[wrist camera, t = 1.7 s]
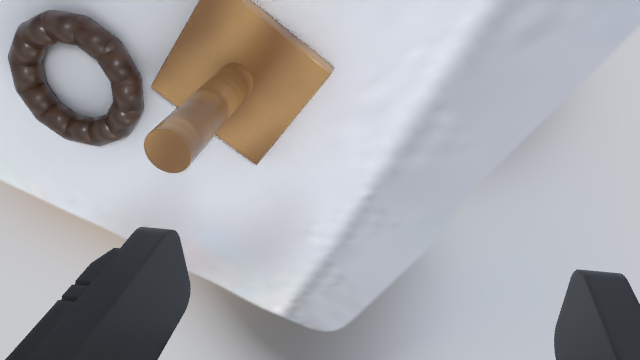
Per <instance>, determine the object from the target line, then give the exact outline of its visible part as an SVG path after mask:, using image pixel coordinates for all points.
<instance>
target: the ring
mask: <svg viewBox="0 0 640 360" xmlns="http://www.w3.org/2000/svg"><path fill="white" fill-rule="evenodd" d="M58 42H60V43H65V44H71V45H76V46H78V47H79V48H81V49H82V50H83V51H85V52H86V53H88V54H89V55H90V56H92V57H93V58H94V59H96V60H97V61H98V63H99V64H100V66H101V68H102V69H103V71H104V72H105V74H106V76H107V77H108V79H109V80H110V82H111V89H112V97H113V103H112V105H111V107H110V109H109V111H108V113H107V114H106V115H103V116H101V117H98V118H96V119H95V118H90V117H85V116H80V115H77V114H76V113H74V112H73V111H72V110H70V109H69V108H67V107H66V106H64V105H63V104H62V103H60V102H59V100H58V99H57V98H56V96H55V95H54V93H53V92H52V90H51V89H50V87H49V86H48V84H47V83H46V80H45V75H44V70H43V65H42V60H43V58H44V55H45V53H46V50H47V48H48V47H50V46H52V45H54V44H56V43H58ZM8 60H9V64H10V68H11V73H12V77H13V81H14V85H15V89H16V91H17V93H18V94H19V96H20V97H21V98H22V100H23V101H24V102H25V104H26V105H27V107H28V108H29V109H30V111H31V112H32V114H33V115H34V116H35V118H36V119H37V120H38V121H40V122H41V123H43V124H44V125H45V126H47V127H48V128H50V129H51V130H53V131H54V132H56V133H57V134H59V135H60V136H61V137H63V138H65V139H67V140H70V141H75V142H80V143H84V144H89V145H94V146H102V145H105V144H108V143H110V142H113V141H116V140H119V139H121V138H124V137H126V136H128V135H129V134H130V132H131V131H132V129H133V127H134V126H135V124H136V122H137V120H138V119H139V117H140V115H141V113H142V111H143V108H144V104H143V92H142V80H141V75H140V72H139V71H138V69H137V67H136V66H135V64H134V62H133V60H132V59H131V57H130V55H129V54H128V52H127V50H126V49H125V47H124V45H123V44H122V42H121V41H120V40H119V39H118V38H116V37H115V36H113V35H112V34H111V33H109V32H108V31H107V30H105V29H104V28H103V27H101V26H100V25H99V24H97V23H96V22H95V21H93V20H92V19H91V18H89V17H87V16H83V15H77V14H72V13H66V12H61V11H55V10H48V11H45V12H43V13H41V14H39V15H37V16H35V17H33V18H31V19H30V20H28V21H26V22H24V23H22V24H21V25H20V26H19V27H18V28H17V30H16V33H15V36H14V39H13V42H12V45H11V48H10V51H9V54H8Z"/></svg>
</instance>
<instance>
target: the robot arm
mask: <svg viewBox="0 0 640 360" xmlns="http://www.w3.org/2000/svg"><path fill="white" fill-rule="evenodd" d="M189 297H190V280H189V276H188V271H187V267H186V263H185V258H184V254H183V250H182V246H181V241H180V237H179V235H178V233H177V232H176V231H175V230H168V229H158V228H147V227H140V228H138V229H136V230H135V231H134V233H133V234H132V235H131V236H130V237H129V238H128V240H127V241H126V242H125V243H124V244H123V246H122V247H121V248H113V249H112V250H110V251H109V252H107V253H106V254H104V255H103V256H101V257H100V258H98V259H97V260H95V261H94V262H92V263H91V264H90V265H89V266H88V267H87V269H86V270H85V271H84V272H83V273H82V274H81V275H80V276H79V278H78V279H77V280H76V283H75V285H71V287H70V288H69V289H68V290H67V291H66V292H65V293H64V294H63V296H62V299H61V300H58V301H57V302H56V303H55V305H54V306H53V307H52V308H51V309H50V310H49V311H48V312H47V314H46V315H45V316H44V317H43V318H42V319H41V320H40V321H39V322H38V324H37V325H36V326H35V327H34V328H33V329H32V330H31V331H30V333H29V334H28V335H27V336H26V337H25V338H24V339H23V340H22V342H21V343H20V344H19V345H18V346H17V347H16V348H15V350H14V351H13V352H12V353H11V354H10V355H9V356H8V357H7V358H6V359H5V360H157V359H158V358H159V356H160V354H161V352H162V351H163V349H164V347H165V345H166V344H167V342H168V340H169V338H170V337H171V335H172V333H173V331H174V330H175V328H176V326H177V324H178V323H179V321H180V319H181V317H182V316H183V314H184V312H185V310H186V308H187V305H188V302H189ZM554 348H555V356H556V360H640V304H639V302H638V300H637V298H636V296H635V295H634V292H633V290H632V288H631V286H630V284H629V282H628V280H627V279H626V277H625V276H623V275H622V274H620V273H609V272H599V271H588V270H576V271H574V273H573V274H572V277H571V279H570V282H569V286H568V289H567V292H566V296H565V298H564V302H563V305H562V308H561V311H560V315H559V318H558V321H557V324H556V328H555V337H554Z"/></svg>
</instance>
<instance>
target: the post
mask: <svg viewBox="0 0 640 360" xmlns="http://www.w3.org/2000/svg"><path fill="white" fill-rule="evenodd" d="M333 69H334V67H333V66H331V65H330V64H329V63H328V62H326V61H325V60H324V59H323V58H322V57H320V56H319V55H318V54H317V53H315V52H314V51H313V50H312V49H310V48H309V47H308V46H307V45H306V44H304V43H303V42H302V41H301V40H299V39H298V38H297V37H296V36H294V35H293V34H292V33H291V32H289V31H288V30H287V29H286V28H285V27H283V26H282V25H281V24H280V23H278V22H277V21H276V20H275V19H273V18H272V17H271V16H270V15H269V14H267V13H266V12H265V11H264V10H262V9H261V8H260V7H259V6H257V5H256V4H255V3H254V2H253V1H251V0H199V2H198V4H197V6H196V7H195V9H194V11H193V13H192V15H191V16H190V18H189V20H188V22H187V23H186V25H185V27H184V29H183V30H182V32H181V34H180V36H179V38H178V39H177V41H176V43H175V45H174V46H173V48H172V50H171V52H170V53H169V55H168V57H167V59H166V61H165V62H164V64H163V66H162V68H161V69H160V71H159V73H158V75H157V76H156V78H155V80H154V82H153V84H152V85H151V88H152V89H154V90H155V91H156V92H158V93H159V94H160V95H162V96H163V97H164V98H166V99H167V100H169V101H170V102H171V103H173V104H174V105H175V106H177V107H178V108H177V109H176V110H174V111H173V112H172V113H171V114H170V115H169V116H168V117H167V118H165V119H164V120H163V121H162V122H161V123H160V124H159V125H158V126H156V127H155V128H154V129H153V130H152V131H151V132H150V133H149V134H148V135H147V136H146V138H145V141H144V149H145V153H146V155H147V157H148V159H149V160H150V161H151V162H152V163H153V164H154V165H155V166H156V167H157V168H159V169H161V170H163V171H165V172H169V173H178V172H182V171H184V170H185V169H186V168H187V167H188V166H189V165H190V164H191V163H192V161H193V160H194V159H195V158H196V157H197V156H198V154H199V153H200V152H201V151H202V150H203V149H204V147H205V146H206V145H207V144H208V143H209V141H210V140H211V139H212V138H213V137H214V136H215V135H216V136H218V137H219V138H220V139H222V140H223V141H224V142H226V143H227V144H228V145H230V146H231V147H232V148H234V149H235V150H237V151H238V152H239V153H241V154H242V155H243V156H245V157H246V158H247V159H249V160H250V161H252V162H253V163H254V164H256V165H257V164H258V163H259V162H260V160H261V159H262V158H263V157H264V155H265V154H266V153H267V152H268V151H269V149H270V148H271V147H272V146H273V144H274V143H275V142H276V141H277V140H278V138H279V137H280V136H281V135H282V133H283V132H284V131H285V130H286V128H287V127H288V126H289V125H290V124H291V122H292V121H293V120H294V119H295V117H296V116H297V115H298V114H299V113H300V111H301V110H302V109H303V108H304V106H305V105H306V104H307V103H308V102H309V100H310V99H311V98H312V97H313V95H314V94H315V93H316V92H317V91H318V89H319V88H320V87H321V86H322V84H323V83H324V82H325V81H326V80H327V78H328V77H329V76H330V75H331V73H332V71H333Z"/></svg>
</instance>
